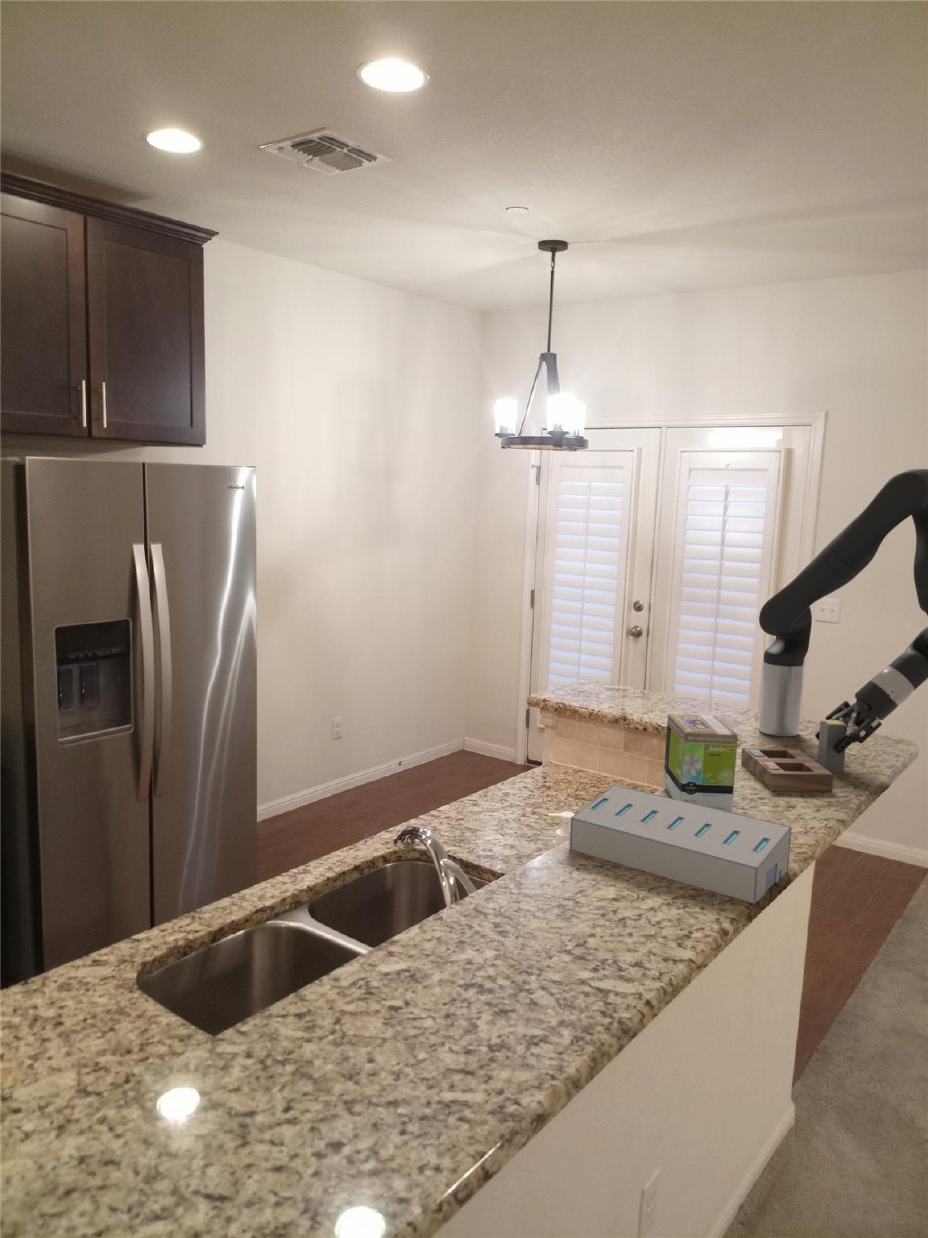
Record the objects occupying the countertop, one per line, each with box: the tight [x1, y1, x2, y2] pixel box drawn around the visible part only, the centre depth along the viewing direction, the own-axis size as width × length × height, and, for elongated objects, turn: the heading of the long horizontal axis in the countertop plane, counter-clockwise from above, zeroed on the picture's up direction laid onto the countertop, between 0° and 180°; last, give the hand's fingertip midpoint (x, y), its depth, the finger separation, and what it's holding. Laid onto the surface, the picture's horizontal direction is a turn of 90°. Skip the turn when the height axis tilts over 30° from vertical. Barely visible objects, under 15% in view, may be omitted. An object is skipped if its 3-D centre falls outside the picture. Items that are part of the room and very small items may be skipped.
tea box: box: [663, 713, 739, 812], centre depth 168 cm, size 15×10×15 cm
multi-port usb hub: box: [569, 784, 792, 905], centre depth 139 cm, size 30×14×8 cm, turn 52°
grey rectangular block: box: [816, 719, 848, 773], centre depth 189 cm, size 4×4×10 cm
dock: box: [740, 747, 834, 793], centre depth 183 cm, size 18×12×4 cm, turn 1°
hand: (826, 745), depth 189 cm, fingers open, 8 cm apart
